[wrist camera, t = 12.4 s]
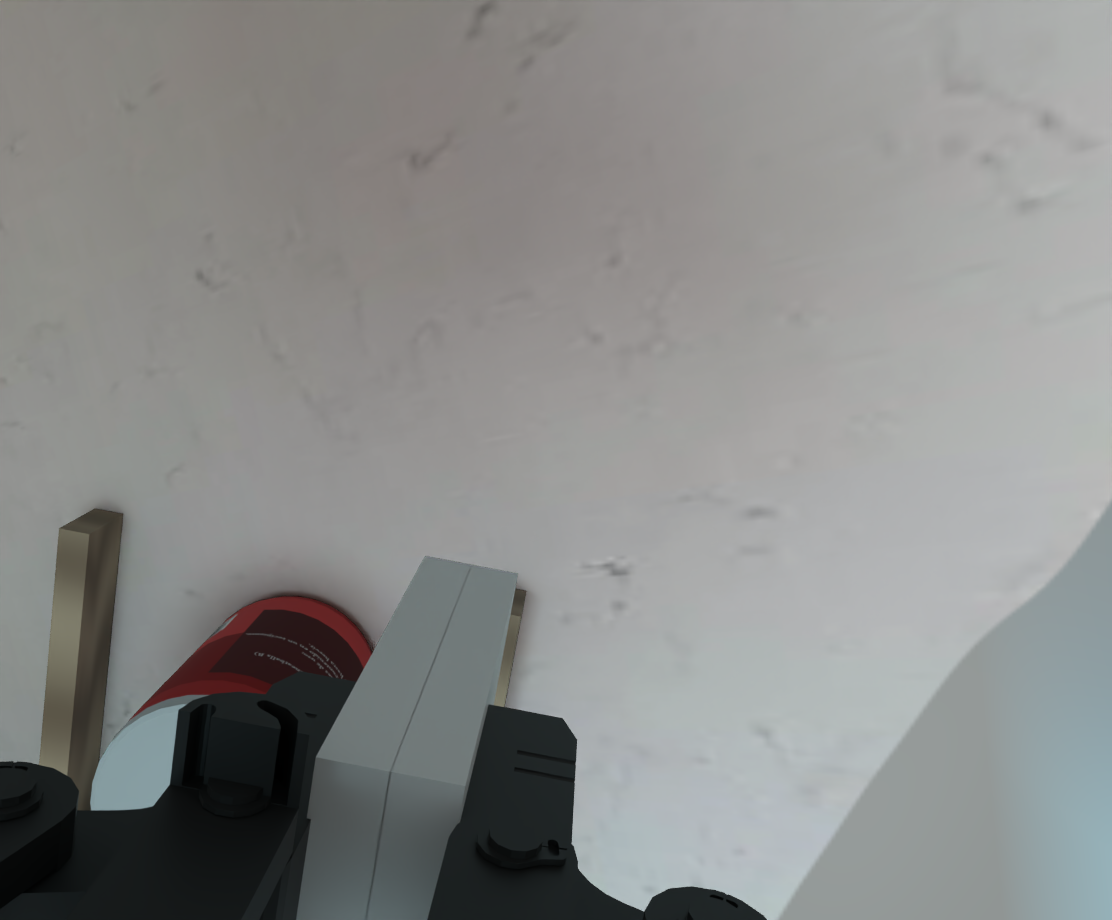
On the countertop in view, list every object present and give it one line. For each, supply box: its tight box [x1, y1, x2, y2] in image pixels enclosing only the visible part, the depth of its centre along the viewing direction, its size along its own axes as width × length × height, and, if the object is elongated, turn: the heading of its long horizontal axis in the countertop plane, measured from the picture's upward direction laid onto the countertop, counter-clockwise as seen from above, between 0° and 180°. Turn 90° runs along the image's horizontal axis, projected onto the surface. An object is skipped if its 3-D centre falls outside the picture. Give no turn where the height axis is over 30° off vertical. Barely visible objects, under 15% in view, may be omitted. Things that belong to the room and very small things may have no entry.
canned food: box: [90, 596, 372, 810], centre depth 41 cm, size 8×8×11 cm
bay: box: [39, 509, 526, 810], centre depth 45 cm, size 15×18×3 cm
